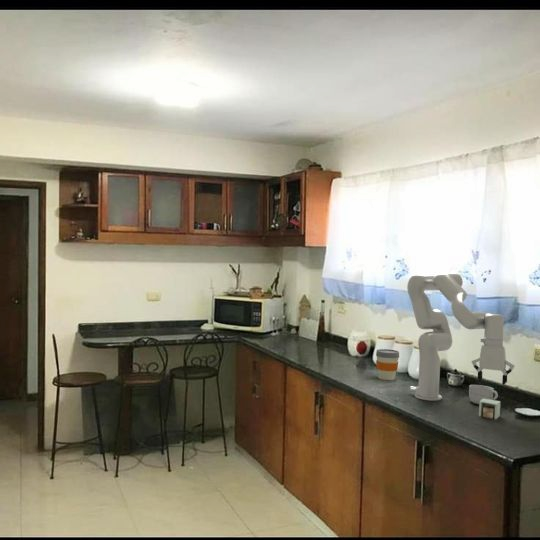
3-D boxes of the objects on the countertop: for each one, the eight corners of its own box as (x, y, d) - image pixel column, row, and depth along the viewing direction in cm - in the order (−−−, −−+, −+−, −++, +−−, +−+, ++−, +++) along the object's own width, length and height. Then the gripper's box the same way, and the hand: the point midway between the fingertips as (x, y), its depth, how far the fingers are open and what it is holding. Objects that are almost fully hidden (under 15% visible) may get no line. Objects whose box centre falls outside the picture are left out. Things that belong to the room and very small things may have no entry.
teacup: (463, 401, 271) (464, 384, 271) (481, 399, 275) (482, 383, 275) (484, 409, 258) (485, 391, 258) (503, 407, 262) (504, 390, 262)
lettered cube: (482, 416, 246) (483, 407, 246) (485, 414, 249) (485, 405, 249) (492, 418, 244) (493, 409, 244) (494, 416, 247) (495, 407, 247)
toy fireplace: (478, 416, 246) (479, 401, 246) (482, 412, 252) (483, 398, 252) (496, 419, 242) (497, 404, 242) (499, 416, 248) (500, 401, 248)
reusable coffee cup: (394, 381, 307) (395, 354, 306) (371, 378, 313) (372, 351, 312) (401, 377, 318) (402, 350, 317) (379, 374, 324) (380, 348, 323)
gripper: (470, 341, 248) (469, 381, 248) (513, 345, 238) (511, 386, 238) (474, 339, 254) (473, 378, 254) (516, 343, 244) (515, 384, 245)
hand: (492, 382), depth 246 cm, fingers open, 9 cm apart
